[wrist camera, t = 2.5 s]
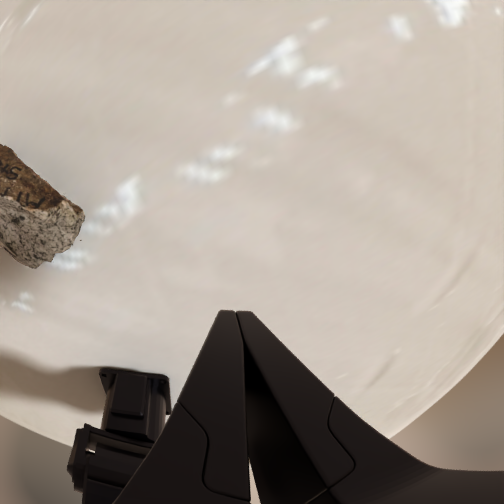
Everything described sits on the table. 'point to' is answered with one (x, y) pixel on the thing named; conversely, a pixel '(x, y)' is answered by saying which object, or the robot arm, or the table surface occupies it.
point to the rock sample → (33, 214)
